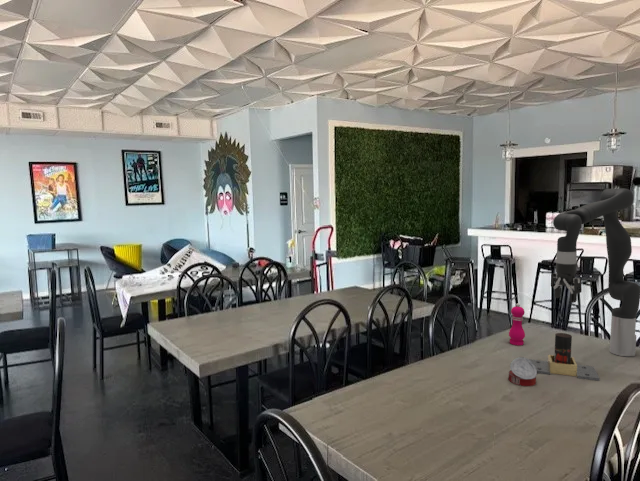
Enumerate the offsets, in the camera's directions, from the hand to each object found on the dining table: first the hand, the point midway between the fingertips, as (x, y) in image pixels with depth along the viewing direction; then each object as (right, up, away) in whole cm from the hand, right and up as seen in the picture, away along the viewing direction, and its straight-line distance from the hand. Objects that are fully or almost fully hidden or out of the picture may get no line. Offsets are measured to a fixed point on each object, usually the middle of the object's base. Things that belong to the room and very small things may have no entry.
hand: (565, 300), depth 191 cm
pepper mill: (-7, -26, +31) cm, 41 cm away
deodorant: (-3, -29, -3) cm, 29 cm away
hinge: (-3, -29, -3) cm, 29 cm away
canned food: (-24, -30, -13) cm, 41 cm away
